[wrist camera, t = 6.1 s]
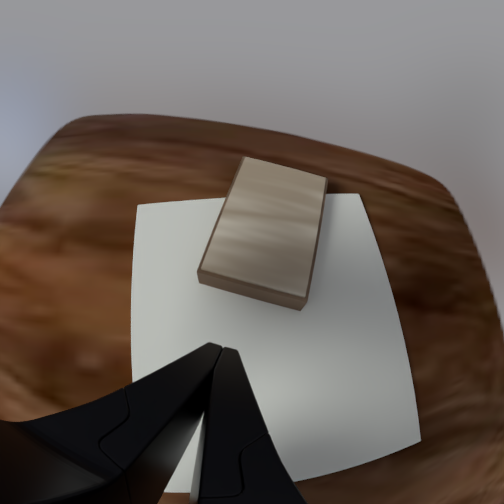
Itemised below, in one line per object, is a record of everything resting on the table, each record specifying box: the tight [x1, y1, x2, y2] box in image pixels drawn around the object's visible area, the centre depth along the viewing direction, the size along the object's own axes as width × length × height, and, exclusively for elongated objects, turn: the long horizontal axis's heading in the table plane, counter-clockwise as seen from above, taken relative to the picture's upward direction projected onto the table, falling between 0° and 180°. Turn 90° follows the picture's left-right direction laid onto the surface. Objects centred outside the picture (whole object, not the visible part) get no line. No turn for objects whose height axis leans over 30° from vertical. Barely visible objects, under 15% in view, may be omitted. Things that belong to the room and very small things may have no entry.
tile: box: [197, 156, 328, 311], centre depth 18 cm, size 2×6×9 cm
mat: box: [131, 194, 421, 492], centre depth 16 cm, size 18×16×1 cm
